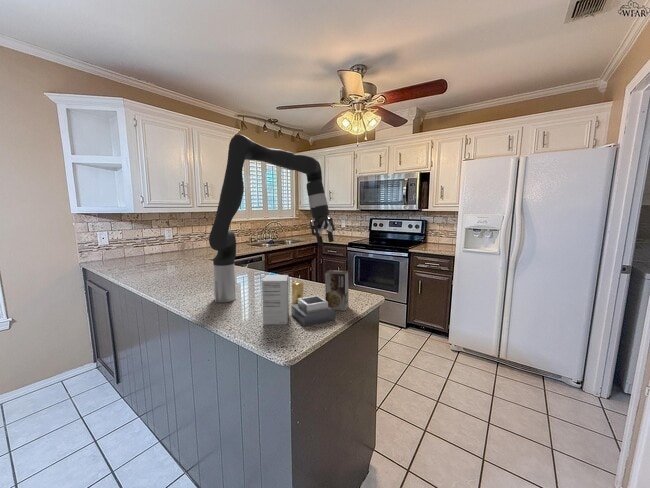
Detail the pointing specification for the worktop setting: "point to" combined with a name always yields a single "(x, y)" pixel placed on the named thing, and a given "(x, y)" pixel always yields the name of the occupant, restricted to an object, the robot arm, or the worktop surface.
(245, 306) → the worktop surface
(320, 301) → the grey square socket base
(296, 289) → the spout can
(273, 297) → the supplement box
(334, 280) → the coffee box
